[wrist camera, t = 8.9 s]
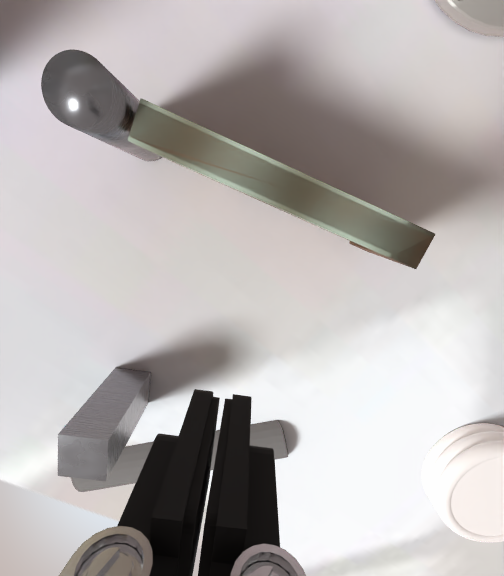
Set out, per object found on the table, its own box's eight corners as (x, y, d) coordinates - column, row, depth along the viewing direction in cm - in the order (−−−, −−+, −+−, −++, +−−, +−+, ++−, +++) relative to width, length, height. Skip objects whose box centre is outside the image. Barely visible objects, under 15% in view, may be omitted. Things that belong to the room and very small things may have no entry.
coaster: (548, 460, 30) (586, 492, 27) (468, 526, 32) (494, 564, 29) (477, 400, 29) (507, 425, 25) (396, 473, 31) (415, 506, 27)
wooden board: (166, 161, 23) (127, 140, 16) (175, 133, 22) (140, 98, 15) (368, 251, 24) (416, 269, 17) (381, 226, 24) (435, 234, 17)
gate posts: (171, 120, 23) (113, 55, 14) (148, 402, 29) (95, 502, 19) (129, 113, 23) (41, 44, 13) (113, 398, 29) (42, 496, 19)
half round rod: (75, 450, 30) (64, 464, 29) (280, 413, 30) (282, 426, 28) (89, 486, 31) (79, 503, 30) (288, 452, 31) (290, 467, 29)
